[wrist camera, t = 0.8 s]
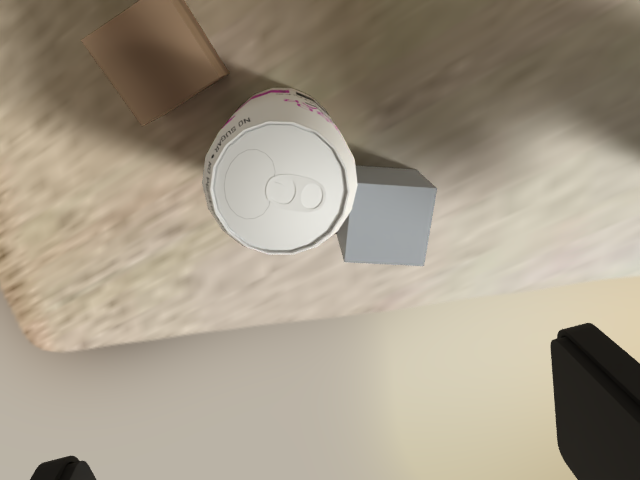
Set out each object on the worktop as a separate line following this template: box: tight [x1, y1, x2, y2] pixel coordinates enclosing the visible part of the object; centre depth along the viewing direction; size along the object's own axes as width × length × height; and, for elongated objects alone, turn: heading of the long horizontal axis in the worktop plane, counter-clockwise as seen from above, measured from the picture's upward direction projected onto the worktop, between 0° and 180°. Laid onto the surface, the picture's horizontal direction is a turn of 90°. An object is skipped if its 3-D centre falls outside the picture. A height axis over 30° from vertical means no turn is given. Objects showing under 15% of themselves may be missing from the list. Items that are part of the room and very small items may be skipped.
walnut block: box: [81, 0, 229, 126], centre depth 34 cm, size 6×6×6 cm
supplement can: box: [202, 88, 358, 255], centre depth 32 cm, size 8×8×15 cm
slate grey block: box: [337, 165, 437, 266], centre depth 39 cm, size 6×6×6 cm
